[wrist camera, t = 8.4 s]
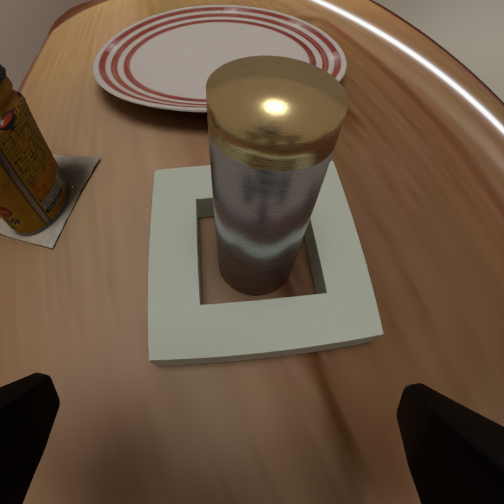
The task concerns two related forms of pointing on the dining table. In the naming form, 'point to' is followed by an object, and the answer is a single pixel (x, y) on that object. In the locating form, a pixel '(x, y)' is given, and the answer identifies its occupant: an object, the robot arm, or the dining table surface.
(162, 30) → the dinner plate
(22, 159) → the condiment
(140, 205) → the dining table surface
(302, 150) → the jar with gold lid
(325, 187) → the white flat square frame
